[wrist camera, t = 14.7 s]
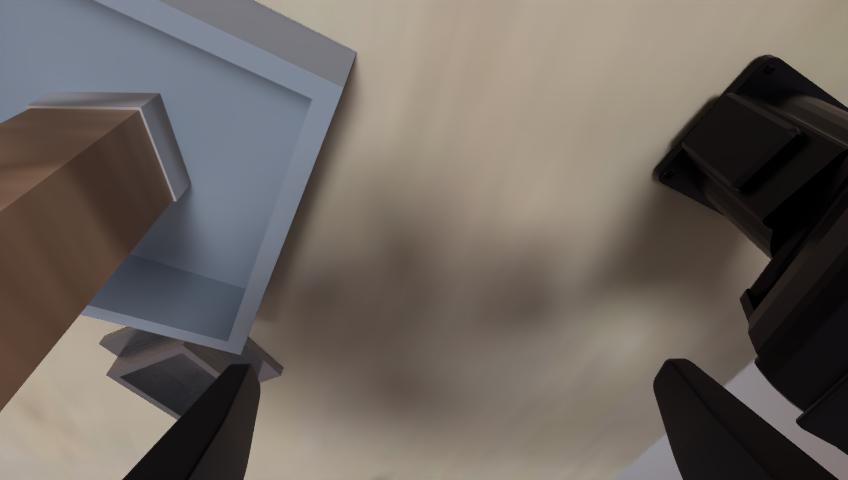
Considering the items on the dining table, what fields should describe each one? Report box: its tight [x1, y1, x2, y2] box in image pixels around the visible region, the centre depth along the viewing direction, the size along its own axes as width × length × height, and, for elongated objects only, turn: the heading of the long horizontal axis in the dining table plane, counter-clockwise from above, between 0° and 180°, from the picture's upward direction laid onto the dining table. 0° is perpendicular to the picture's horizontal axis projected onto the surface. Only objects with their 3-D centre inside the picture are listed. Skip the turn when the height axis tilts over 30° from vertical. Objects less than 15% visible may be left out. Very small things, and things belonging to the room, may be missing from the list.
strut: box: [0, 91, 191, 412], centre depth 14 cm, size 4×4×12 cm
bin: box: [0, 0, 356, 355], centre depth 17 cm, size 15×15×4 cm
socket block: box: [99, 326, 283, 420], centre depth 28 cm, size 8×8×3 cm
